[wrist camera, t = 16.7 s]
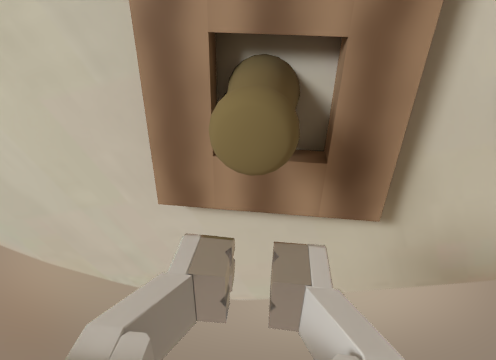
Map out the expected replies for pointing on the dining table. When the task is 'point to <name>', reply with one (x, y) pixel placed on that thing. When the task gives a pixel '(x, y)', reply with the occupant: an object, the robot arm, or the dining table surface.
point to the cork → (257, 117)
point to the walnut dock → (342, 108)
